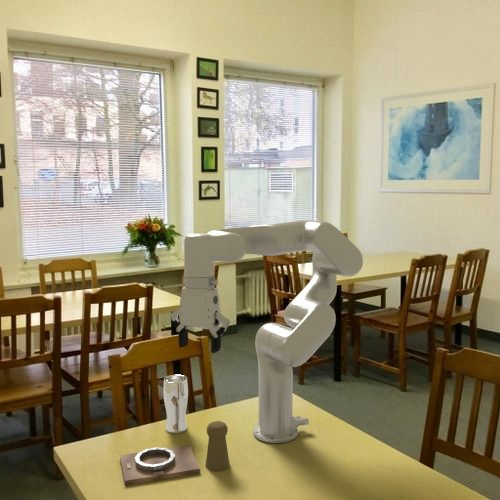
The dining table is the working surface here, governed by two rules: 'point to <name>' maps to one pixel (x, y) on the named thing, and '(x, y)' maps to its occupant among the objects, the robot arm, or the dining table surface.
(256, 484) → the dining table surface
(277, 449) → the dining table surface
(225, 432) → the cork
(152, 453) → the hub ring
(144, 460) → the board
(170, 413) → the beer glass
